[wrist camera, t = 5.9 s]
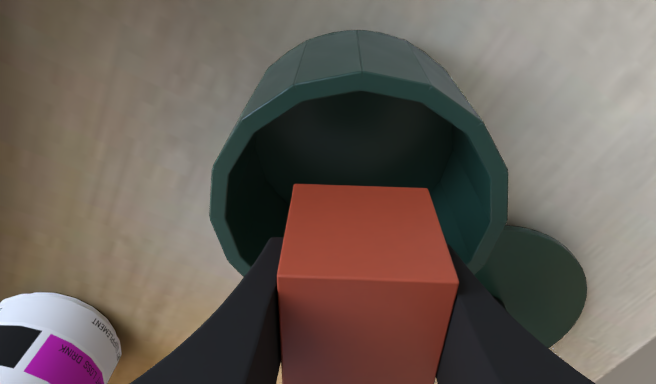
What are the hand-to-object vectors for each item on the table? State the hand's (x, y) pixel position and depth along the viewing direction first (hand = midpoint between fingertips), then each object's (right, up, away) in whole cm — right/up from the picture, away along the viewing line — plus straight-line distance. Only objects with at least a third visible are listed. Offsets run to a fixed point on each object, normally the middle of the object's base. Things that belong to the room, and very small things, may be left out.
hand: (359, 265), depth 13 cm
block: (0, +1, +1) cm, 2 cm away
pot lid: (+8, -4, +12) cm, 15 cm away
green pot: (0, +5, +7) cm, 9 cm away
